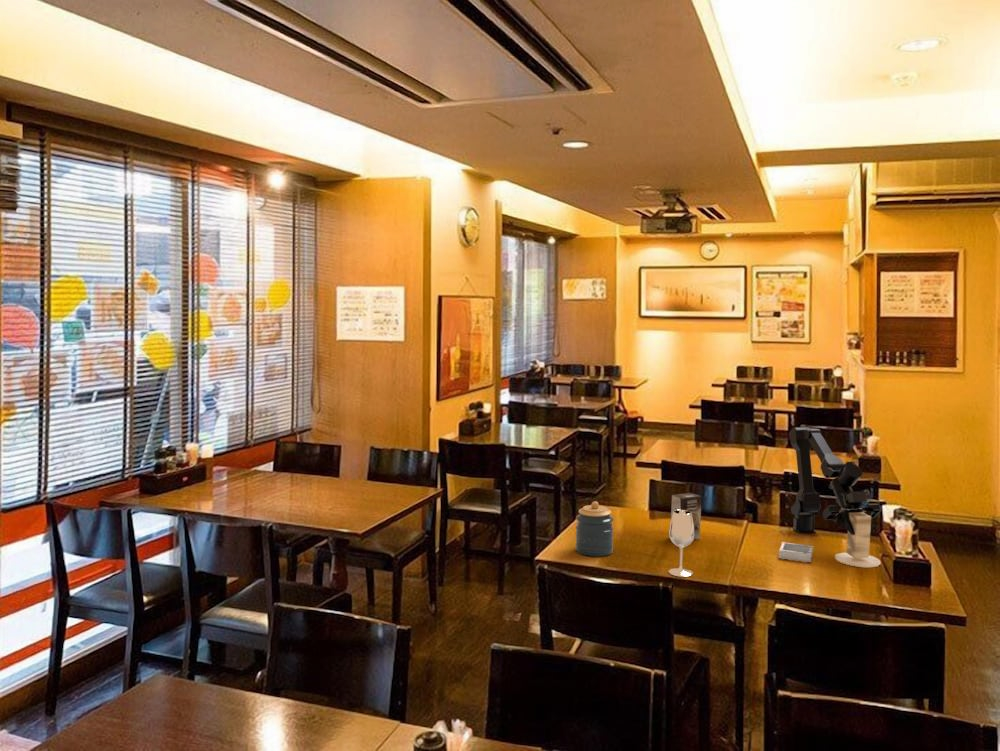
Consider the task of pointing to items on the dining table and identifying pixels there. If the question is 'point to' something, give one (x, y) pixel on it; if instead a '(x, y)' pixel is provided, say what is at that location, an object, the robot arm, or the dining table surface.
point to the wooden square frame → (796, 552)
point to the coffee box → (689, 508)
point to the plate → (857, 561)
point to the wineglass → (681, 537)
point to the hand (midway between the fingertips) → (861, 534)
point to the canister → (594, 530)
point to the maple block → (859, 535)
